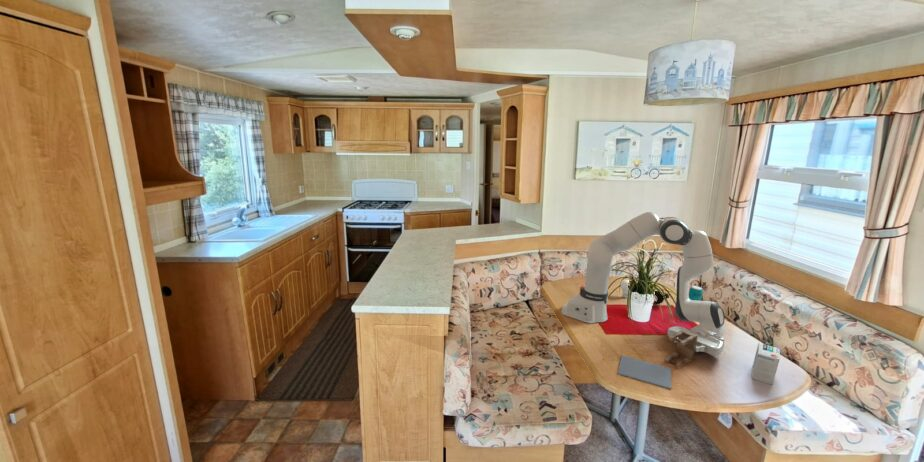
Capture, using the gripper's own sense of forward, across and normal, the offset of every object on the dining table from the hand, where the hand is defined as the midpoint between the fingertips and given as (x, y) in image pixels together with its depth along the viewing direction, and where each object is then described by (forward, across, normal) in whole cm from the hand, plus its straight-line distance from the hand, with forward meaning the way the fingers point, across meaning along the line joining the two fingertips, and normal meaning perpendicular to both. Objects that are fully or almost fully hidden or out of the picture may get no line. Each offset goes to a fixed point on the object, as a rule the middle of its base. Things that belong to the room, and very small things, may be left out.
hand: (685, 345), depth 154 cm
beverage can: (-46, -18, +6) cm, 50 cm away
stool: (+4, 0, +5) cm, 7 cm away
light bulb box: (-14, +23, +6) cm, 27 cm away
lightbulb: (-35, -49, +6) cm, 61 cm away
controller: (-42, -35, +6) cm, 55 cm away
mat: (+24, -3, +6) cm, 24 cm away
